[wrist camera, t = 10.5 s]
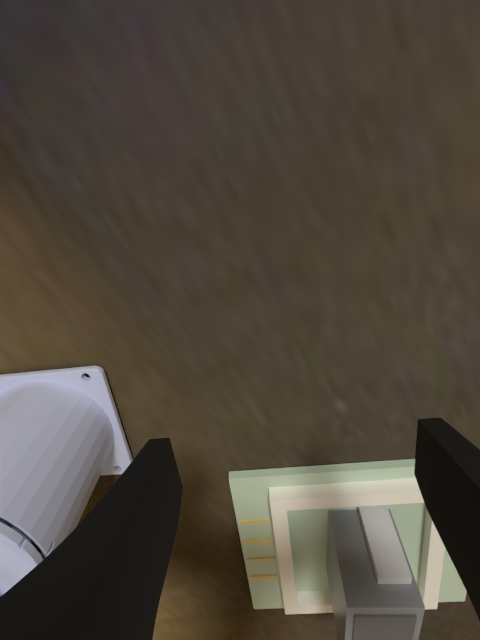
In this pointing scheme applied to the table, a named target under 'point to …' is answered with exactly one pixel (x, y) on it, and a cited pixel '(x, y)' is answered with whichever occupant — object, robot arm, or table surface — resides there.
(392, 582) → the plug
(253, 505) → the board
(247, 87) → the table surface
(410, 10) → the table surface
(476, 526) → the robot arm
